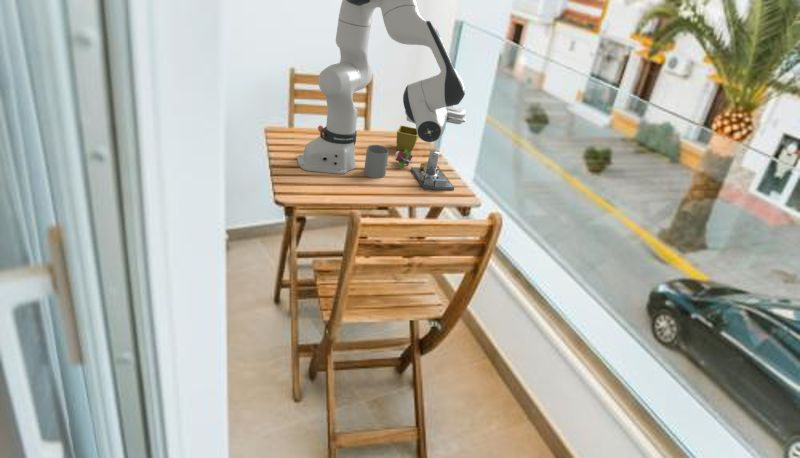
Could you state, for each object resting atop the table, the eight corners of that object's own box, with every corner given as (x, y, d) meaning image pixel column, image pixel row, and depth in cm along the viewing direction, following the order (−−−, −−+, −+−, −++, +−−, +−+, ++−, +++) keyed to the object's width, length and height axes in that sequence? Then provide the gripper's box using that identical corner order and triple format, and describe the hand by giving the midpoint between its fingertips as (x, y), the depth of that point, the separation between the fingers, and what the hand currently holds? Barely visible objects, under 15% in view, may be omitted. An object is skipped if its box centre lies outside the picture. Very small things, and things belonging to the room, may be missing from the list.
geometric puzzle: (411, 156, 214) (403, 142, 209) (419, 163, 209) (411, 149, 204) (397, 166, 214) (389, 152, 208) (404, 173, 209) (396, 159, 203)
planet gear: (427, 183, 195) (432, 156, 190) (417, 175, 200) (422, 148, 194) (441, 181, 199) (447, 154, 193) (431, 173, 204) (437, 147, 198)
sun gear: (422, 177, 203) (424, 168, 201) (416, 169, 209) (418, 160, 207) (440, 177, 205) (442, 168, 203) (433, 169, 211) (435, 160, 209)
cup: (366, 177, 195) (369, 153, 190) (361, 168, 201) (364, 144, 196) (387, 178, 197) (391, 154, 192) (382, 169, 204) (386, 145, 199)
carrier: (424, 189, 194) (426, 180, 192) (410, 170, 207) (412, 161, 205) (453, 189, 198) (455, 181, 196) (438, 170, 211) (440, 162, 209)
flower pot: (413, 155, 221) (417, 135, 216) (393, 151, 222) (396, 131, 217) (416, 148, 229) (420, 129, 224) (397, 144, 229) (400, 125, 225)
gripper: (467, 113, 165) (468, 101, 177) (404, 100, 166) (410, 90, 178) (463, 131, 168) (464, 119, 180) (401, 119, 169) (407, 107, 181)
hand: (437, 104), depth 179 cm, fingers open, 8 cm apart
